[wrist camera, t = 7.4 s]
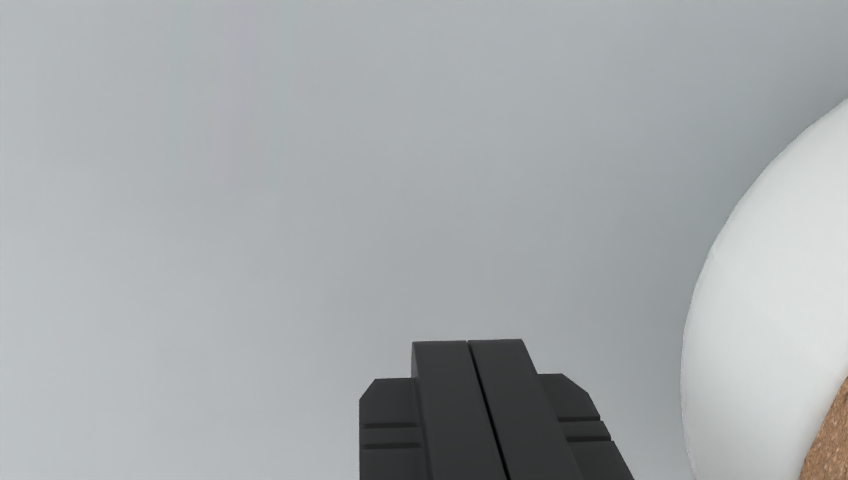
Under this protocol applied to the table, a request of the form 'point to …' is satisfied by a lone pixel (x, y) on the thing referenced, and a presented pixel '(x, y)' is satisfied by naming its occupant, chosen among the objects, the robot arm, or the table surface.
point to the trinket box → (775, 323)
